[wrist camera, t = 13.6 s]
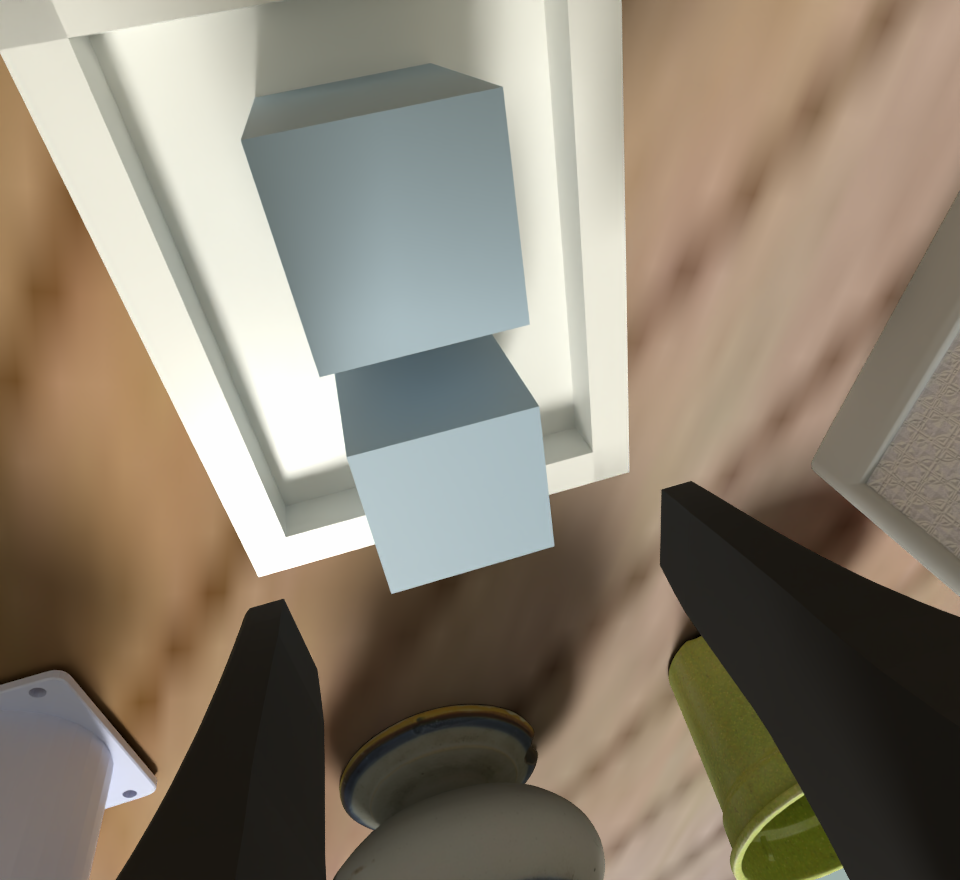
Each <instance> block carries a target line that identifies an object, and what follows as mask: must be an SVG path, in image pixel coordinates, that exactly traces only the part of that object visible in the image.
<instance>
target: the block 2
mask: <svg viewBox="0 0 960 880" xmlns="http://www.w3.org/2000/svg"><path fill="white" fill-rule="evenodd" d="M335 381H336V387H337V394H338V401H339V408H340V415H341V422H342V429H343V436H344V443H345V450H346V457H347V460H348V463H349V466H350V469H351V472H352V475H353V478H354V481H355V484H356V488H357V491H358V494H359V497H360V500H361V503H362V506H363V509H364V512H365V515H366V518H367V521H368V524H369V527H370V530H371V533H372V536H373V539H374V542H375V545H376V548H377V552H378V555H379V558H380V561H381V564H382V567H383V570H384V573H385V576H386V579H387V582H388V585H389V588H390V591H391V594H393V593H397V592H400V591H404V590H407V589H410V588H414V587H417V586H421V585H424V584H427V583H431V582H434V581H438V580H441V579H444V578H448V577H451V576H455V575H458V574H462V573H465V572H468V571H472V570H475V569H479V568H482V567H485V566H489V565H492V564H496V563H499V562H503V561H506V560H509V559H513V558H516V557H520V556H523V555H526V554H530V553H533V552H537V551H540V550H543V549H547V548H550V547H554V538H553V528H552V519H551V510H550V501H549V491H548V482H547V473H546V464H545V455H544V445H543V436H542V427H541V418H540V408H539V405H538V404H537V402H536V401H535V399H534V398H533V396H532V394H531V393H530V391H529V390H528V388H527V387H526V385H525V384H524V382H523V381H522V379H521V378H520V376H519V375H518V373H517V372H516V370H515V369H514V367H513V365H512V364H511V362H510V361H509V359H508V358H507V356H506V355H505V353H504V352H503V350H502V349H501V347H500V346H499V344H498V343H497V341H496V339H495V338H494V336H493V335H492V334H490V335H486V336H482V337H478V338H474V339H470V340H466V341H462V342H458V343H454V344H451V345H447V346H443V347H439V348H435V349H431V350H427V351H423V352H419V353H415V354H411V355H407V356H403V357H399V358H395V359H391V360H387V361H383V362H379V363H375V364H371V365H367V366H363V367H359V368H355V369H351V370H347V371H343V372H339V373H335Z"/></svg>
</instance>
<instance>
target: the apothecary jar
mask: <svg viewBox="0 0 960 880" xmlns="http://www.w3.org/2000/svg"><path fill="white" fill-rule="evenodd" d="M533 736H534V730H533V728H532V727H531V726H530V724H529V723H528V722H527V721H526V720H524V719H523V718H522V717H520V716H519V715H517V714H516V713H514V712H512V711H510V710H506V709H502V708H498V707H494V706H486V705H454V706H447V707H442V708H438V709H433V710H430V711H426V712H423V713H420V714H417V715H414V716H411V717H409V718H407V719H404V720H402V721H400V722H398V723H396V724H395V725H393V726H391V727H389V728H387V729H386V730H384V731H382V732H381V733H379V734H378V735H377V736H375V737H374V738H372V739H371V740H370V741H368V742H367V743H366V744H365V745H364V746H363V747H362V748H361V749H360V750H359V751H358V752H357V753H356V754H355V755H354V756H353V757H352V758H351V760H350V761H349V763H348V765H347V767H346V769H345V771H344V774H343V776H342V778H341V782H340V787H339V790H340V798H341V802H342V805H343V807H344V809H345V811H346V812H347V813H348V815H349V816H350V817H351V818H352V819H353V820H355V821H356V822H358V823H359V824H361V825H363V826H365V827H367V828H369V829H372V830H374V831H373V832H371V834H370V835H369V836H368V837H367V838H366V839H365V840H364V841H363V842H362V843H361V844H360V845H359V846H358V847H357V848H356V849H355V850H354V852H353V853H352V854H351V855H350V857H349V858H348V859H347V860H346V862H345V863H344V864H343V865H342V867H341V868H340V869H339V871H338V872H337V874H336V875H335V877H334V879H333V880H604V872H605V859H604V852H603V847H602V844H601V840H600V837H599V835H598V833H597V831H596V830H595V828H594V826H593V824H592V823H591V821H590V820H589V819H588V817H587V816H586V815H585V814H584V813H583V812H582V811H581V810H580V809H579V808H578V807H576V806H575V805H574V804H572V803H571V802H570V801H568V800H566V799H565V798H563V797H561V796H559V795H557V794H555V793H553V792H550V791H548V790H545V789H542V788H539V787H536V786H532V785H527V784H525V783H526V782H527V780H528V779H529V777H530V776H531V774H532V772H533V770H534V768H535V766H536V763H537V758H538V754H537V751H536V750H535V749H533V747H532V746H531V744H532V739H533Z"/></svg>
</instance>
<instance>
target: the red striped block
mask: <svg viewBox="0 0 960 880" xmlns="http://www.w3.org/2000/svg"><path fill="white" fill-rule="evenodd" d="M811 465H812V469H813V471H814V472H815V473H816V474H818V475H819V476H820V477H821V478H822V479H823V480H825V481H826V482H827V483H828V484H829V485H830V486H832V487H833V488H834V489H835V490H836V491H837V492H839V493H840V494H841V495H842V496H843V497H844V498H845V499H847V500H848V501H849V502H850V503H851V504H852V505H854V506H855V507H856V508H857V509H858V510H859V511H861V512H862V513H863V514H864V515H865V516H866V517H868V518H869V519H870V520H871V521H872V522H873V523H875V524H876V525H877V526H878V527H879V528H880V529H882V530H883V531H884V532H885V533H886V534H887V535H888V536H890V537H891V538H892V539H893V540H894V541H895V542H897V543H898V544H899V545H900V546H901V547H902V548H904V549H905V550H906V551H907V552H908V553H909V554H911V555H912V556H913V557H914V558H915V559H916V560H918V561H919V562H920V563H921V564H922V565H923V566H924V567H926V568H927V569H928V570H929V571H930V572H931V573H933V574H934V575H935V576H936V577H937V578H938V579H940V580H941V581H942V582H943V583H944V584H945V585H947V586H948V587H949V588H950V589H951V590H952V591H954V592H955V593H956V594H957V595H958V596H959V597H960V191H959V193H958V195H957V197H956V198H955V200H954V202H953V204H952V206H951V208H950V209H949V211H948V213H947V215H946V217H945V218H944V220H943V222H942V224H941V226H940V228H939V229H938V231H937V233H936V235H935V237H934V239H933V240H932V242H931V244H930V246H929V248H928V249H927V251H926V253H925V255H924V257H923V259H922V260H921V262H920V264H919V266H918V268H917V270H916V271H915V273H914V275H913V277H912V279H911V280H910V282H909V284H908V286H907V288H906V290H905V291H904V293H903V295H902V297H901V299H900V301H899V302H898V304H897V306H896V308H895V310H894V311H893V313H892V315H891V317H890V319H889V321H888V322H887V324H886V326H885V328H884V330H883V332H882V333H881V335H880V337H879V339H878V341H877V342H876V344H875V346H874V348H873V350H872V352H871V353H870V355H869V357H868V359H867V361H866V363H865V364H864V366H863V368H862V370H861V372H860V374H859V375H858V377H857V379H856V381H855V383H854V384H853V386H852V388H851V390H850V392H849V394H848V395H847V397H846V399H845V401H844V403H843V405H842V406H841V408H840V410H839V412H838V414H837V415H836V417H835V419H834V421H833V423H832V425H831V426H830V428H829V430H828V432H827V434H826V436H825V437H824V439H823V441H822V443H821V445H820V446H819V448H818V450H817V452H816V454H815V456H814V457H813V460H812V463H811Z"/></svg>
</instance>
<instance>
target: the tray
mask: <svg viewBox="0 0 960 880" xmlns="http://www.w3.org/2000/svg"><path fill="white" fill-rule="evenodd" d="M0 53H1V55H2V58H3V60H4V62H5V64H6V66H7V68H8V70H9V72H10V74H11V76H12V78H13V80H14V82H15V84H16V86H17V88H18V90H19V92H20V94H21V96H22V98H23V100H24V102H25V104H26V106H27V108H28V110H29V112H30V114H31V116H32V118H33V120H34V122H35V124H36V126H37V129H38V131H39V133H40V135H41V137H42V139H43V141H44V143H45V145H46V147H47V149H48V151H49V153H50V155H51V157H52V159H53V161H54V163H55V165H56V167H57V169H58V171H59V173H60V175H61V177H62V179H63V181H64V183H65V185H66V187H67V189H68V191H69V193H70V195H71V197H72V199H73V202H74V204H75V206H76V208H77V210H78V212H79V214H80V216H81V218H82V220H83V222H84V224H85V226H86V228H87V230H88V232H89V234H90V236H91V238H92V240H93V242H94V244H95V246H96V248H97V250H98V252H99V254H100V256H101V258H102V260H103V262H104V264H105V266H106V268H107V270H108V273H109V275H110V277H111V279H112V281H113V283H114V285H115V287H116V289H117V291H118V293H119V295H120V297H121V299H122V301H123V303H124V305H125V307H126V309H127V311H128V313H129V315H130V317H131V319H132V321H133V323H134V325H135V327H136V329H137V331H138V333H139V335H140V337H141V339H142V341H143V343H144V346H145V348H146V350H147V352H148V354H149V356H150V358H151V360H152V362H153V364H154V366H155V368H156V370H157V372H158V374H159V376H160V378H161V380H162V382H163V384H164V386H165V388H166V390H167V392H168V394H169V396H170V398H171V400H172V402H173V404H174V406H175V408H176V410H177V412H178V414H179V417H180V419H181V421H182V423H183V425H184V427H185V429H186V431H187V433H188V435H189V437H190V439H191V441H192V443H193V445H194V447H195V449H196V451H197V453H198V455H199V457H200V459H201V461H202V463H203V465H204V467H205V469H206V471H207V473H208V475H209V477H210V479H211V481H212V483H213V485H214V487H215V490H216V492H217V494H218V496H219V498H220V500H221V502H222V504H223V506H224V508H225V510H226V512H227V514H228V516H229V518H230V520H231V522H232V524H233V526H234V528H235V530H236V532H237V534H238V536H239V538H240V540H241V542H242V544H243V546H244V548H245V550H246V552H247V554H248V556H249V558H250V560H251V563H252V565H253V567H254V569H255V571H256V573H257V575H258V577H261V576H265V575H268V574H272V573H275V572H279V571H282V570H286V569H289V568H293V567H296V566H300V565H303V564H307V563H311V562H314V561H318V560H321V559H325V558H328V557H332V556H335V555H339V554H342V553H346V552H349V551H353V550H356V549H360V548H363V547H367V546H370V545H374V544H375V542H374V539H373V536H372V533H371V530H370V527H369V524H368V521H367V518H366V515H365V512H364V509H363V506H362V503H361V500H360V497H359V494H358V491H357V488H356V484H355V481H354V478H353V475H352V472H351V469H350V466H349V463H348V460H347V457H346V450H345V443H344V436H343V429H342V422H341V415H340V408H339V401H338V394H337V387H336V381H335V374H331V375H327V376H323V377H319V374H318V371H317V368H316V365H315V362H314V359H313V356H312V353H311V350H310V347H309V344H308V341H307V338H306V335H305V332H304V329H303V326H302V323H301V320H300V317H299V314H298V311H297V308H296V305H295V302H294V299H293V296H292V293H291V290H290V287H289V284H288V281H287V278H286V275H285V272H284V269H283V266H282V263H281V260H280V257H279V254H278V251H277V248H276V245H275V242H274V239H273V236H272V233H271V230H270V227H269V224H268V221H267V218H266V215H265V212H264V209H263V206H262V203H261V200H260V197H259V194H258V191H257V188H256V185H255V182H254V179H253V176H252V173H251V170H250V167H249V164H248V161H247V158H246V155H245V152H244V149H243V146H242V143H241V138H242V135H243V132H244V129H245V126H246V123H247V120H248V117H249V114H250V111H251V108H252V105H253V102H254V99H255V97H260V96H265V95H270V94H276V93H281V92H286V91H291V90H296V89H301V88H306V87H311V86H316V85H321V84H327V83H332V82H337V81H342V80H347V79H352V78H357V77H362V76H367V75H372V74H378V73H383V72H388V71H393V70H398V69H403V68H408V67H413V66H418V65H423V64H429V63H432V64H435V65H438V66H441V67H444V68H447V69H450V70H453V71H456V72H459V73H462V74H465V75H468V76H472V77H475V78H478V79H481V80H484V81H487V82H490V83H493V84H496V85H499V86H502V87H503V91H504V100H505V109H506V118H507V127H508V136H509V144H510V153H511V162H512V171H513V180H514V189H515V198H516V206H517V215H518V224H519V233H520V242H521V251H522V259H523V268H524V277H525V286H526V295H527V304H528V313H529V321H530V325H526V326H522V327H518V328H514V329H510V330H506V331H502V332H498V333H494V334H492V335H493V336H494V338H495V339H496V341H497V343H498V344H499V346H500V347H501V349H502V350H503V352H504V353H505V355H506V356H507V358H508V359H509V361H510V362H511V364H512V365H513V367H514V369H515V370H516V372H517V373H518V375H519V376H520V378H521V379H522V381H523V382H524V384H525V385H526V387H527V388H528V390H529V391H530V393H531V394H532V396H533V398H534V399H535V401H536V402H537V404H538V405H539V408H540V418H541V427H542V436H543V445H544V455H545V464H546V473H547V482H548V491H549V495H550V494H554V493H558V492H561V491H565V490H568V489H572V488H575V487H579V486H582V485H586V484H589V483H593V482H596V481H600V480H603V479H607V478H610V477H614V476H618V475H621V474H625V473H628V472H629V420H628V359H627V299H626V238H625V177H624V116H623V55H622V0H0Z"/></svg>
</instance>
